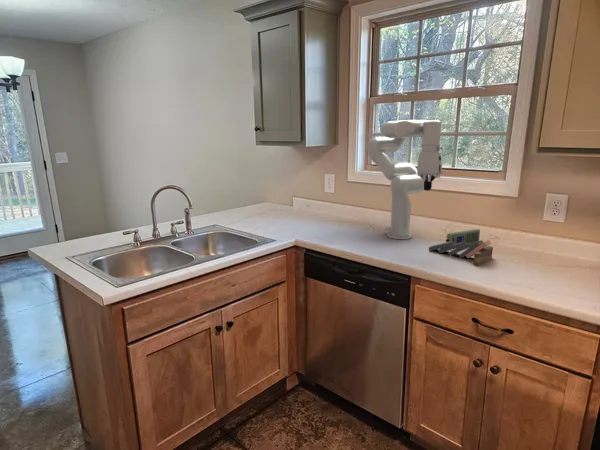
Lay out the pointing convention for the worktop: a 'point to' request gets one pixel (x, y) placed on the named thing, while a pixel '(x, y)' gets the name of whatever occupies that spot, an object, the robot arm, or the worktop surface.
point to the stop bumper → (482, 255)
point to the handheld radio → (464, 236)
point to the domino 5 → (478, 248)
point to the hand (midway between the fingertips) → (427, 189)
